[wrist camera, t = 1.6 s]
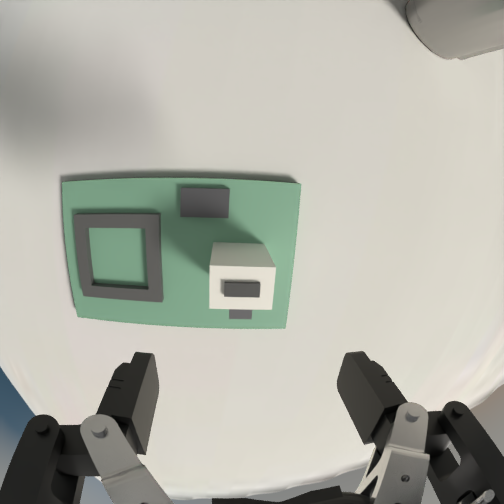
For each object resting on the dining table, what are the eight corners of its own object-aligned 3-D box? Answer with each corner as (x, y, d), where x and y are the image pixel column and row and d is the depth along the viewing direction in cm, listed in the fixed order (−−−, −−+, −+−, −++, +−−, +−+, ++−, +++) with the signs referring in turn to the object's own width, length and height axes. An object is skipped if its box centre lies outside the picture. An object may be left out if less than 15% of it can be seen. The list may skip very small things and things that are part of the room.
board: (298, 183, 24) (303, 184, 22) (283, 323, 28) (287, 332, 26) (67, 181, 22) (57, 182, 20) (81, 312, 26) (74, 320, 24)
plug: (264, 243, 24) (276, 268, 18) (261, 286, 26) (271, 321, 20) (213, 242, 24) (209, 266, 18) (212, 285, 25) (209, 320, 19)
